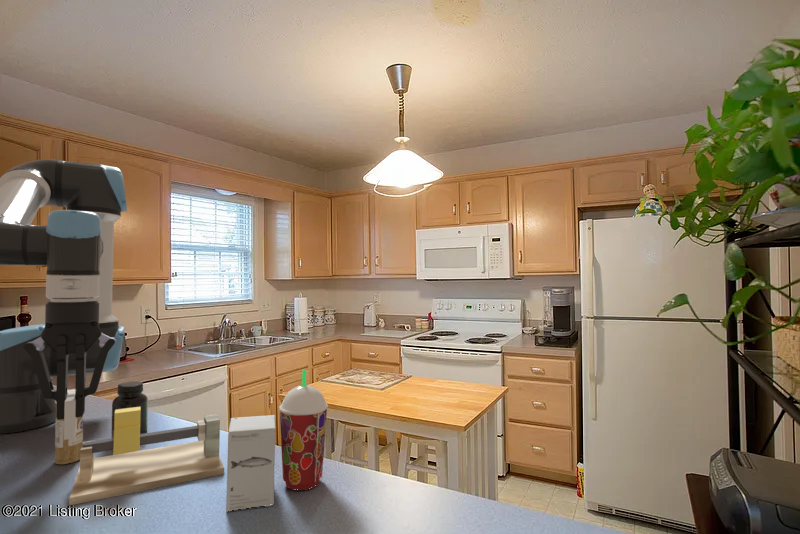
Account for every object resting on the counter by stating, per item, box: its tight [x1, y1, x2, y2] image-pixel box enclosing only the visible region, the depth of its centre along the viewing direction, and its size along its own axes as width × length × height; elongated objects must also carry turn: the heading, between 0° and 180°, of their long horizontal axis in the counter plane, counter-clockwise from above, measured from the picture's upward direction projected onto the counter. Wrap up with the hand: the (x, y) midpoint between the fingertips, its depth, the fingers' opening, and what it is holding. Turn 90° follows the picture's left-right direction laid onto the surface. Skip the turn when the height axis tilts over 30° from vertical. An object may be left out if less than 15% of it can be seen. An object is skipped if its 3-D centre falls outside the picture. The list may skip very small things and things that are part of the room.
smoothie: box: [278, 369, 329, 491], centre depth 79 cm, size 8×8×20 cm
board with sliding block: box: [68, 413, 225, 506], centre depth 83 cm, size 16×23×8 cm
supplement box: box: [225, 414, 277, 513], centre depth 73 cm, size 7×7×13 cm
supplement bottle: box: [110, 381, 149, 438], centre depth 99 cm, size 7×7×12 cm
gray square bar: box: [83, 425, 198, 454], centre depth 83 cm, size 2×21×2 cm, turn 120°
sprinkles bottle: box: [54, 388, 84, 465], centre depth 87 cm, size 5×5×13 cm
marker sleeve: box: [112, 407, 141, 455], centre depth 81 cm, size 4×4×7 cm
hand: (70, 436), depth 77 cm, fingers closed
